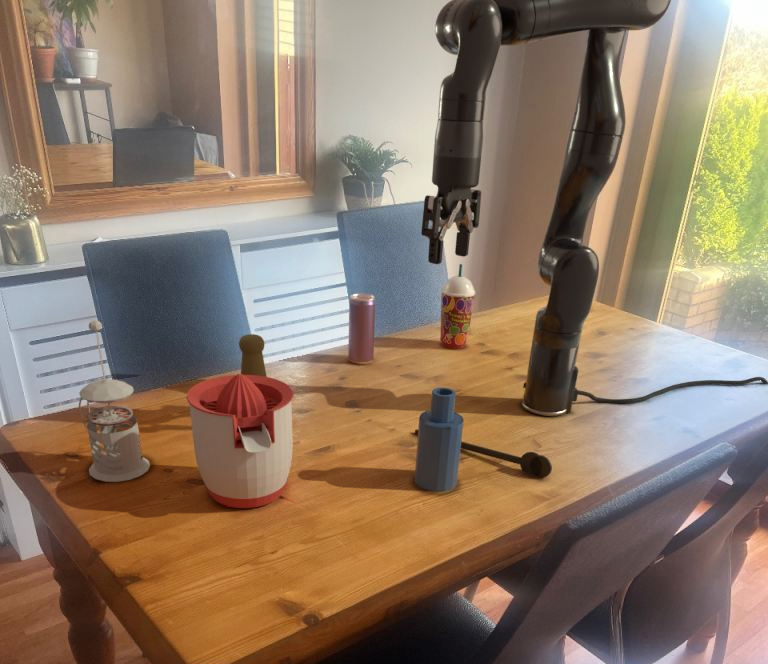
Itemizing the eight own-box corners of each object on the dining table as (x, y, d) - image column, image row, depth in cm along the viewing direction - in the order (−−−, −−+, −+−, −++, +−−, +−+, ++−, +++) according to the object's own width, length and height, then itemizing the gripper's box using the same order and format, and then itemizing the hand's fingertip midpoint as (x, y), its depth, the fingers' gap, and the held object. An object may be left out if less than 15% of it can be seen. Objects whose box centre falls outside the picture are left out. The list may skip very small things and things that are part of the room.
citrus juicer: (211, 531, 106) (198, 405, 95) (188, 477, 119) (175, 361, 109) (312, 512, 111) (310, 391, 101) (280, 462, 125) (275, 351, 114)
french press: (116, 487, 115) (89, 335, 102) (68, 467, 120) (37, 319, 107) (162, 464, 122) (142, 319, 109) (115, 446, 127) (91, 305, 114)
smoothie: (447, 352, 178) (455, 269, 167) (430, 342, 184) (437, 261, 173) (476, 348, 181) (485, 267, 171) (458, 338, 187) (466, 259, 177)
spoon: (416, 421, 135) (553, 457, 121) (416, 442, 137) (550, 480, 123) (414, 422, 135) (552, 458, 120) (414, 443, 137) (549, 481, 123)
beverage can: (370, 366, 167) (372, 301, 159) (345, 363, 168) (346, 298, 160) (375, 357, 172) (378, 294, 164) (351, 354, 173) (352, 292, 165)
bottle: (450, 473, 124) (460, 383, 116) (460, 493, 118) (471, 400, 110) (411, 474, 123) (417, 383, 114) (419, 495, 117) (426, 401, 109)
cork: (273, 384, 155) (271, 334, 149) (258, 393, 150) (255, 342, 145) (250, 379, 157) (247, 329, 151) (234, 387, 152) (230, 337, 147)
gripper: (454, 157, 106) (445, 270, 115) (500, 152, 116) (488, 256, 124) (412, 152, 110) (406, 262, 118) (460, 148, 120) (451, 249, 128)
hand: (448, 259), depth 121 cm, fingers open, 8 cm apart
